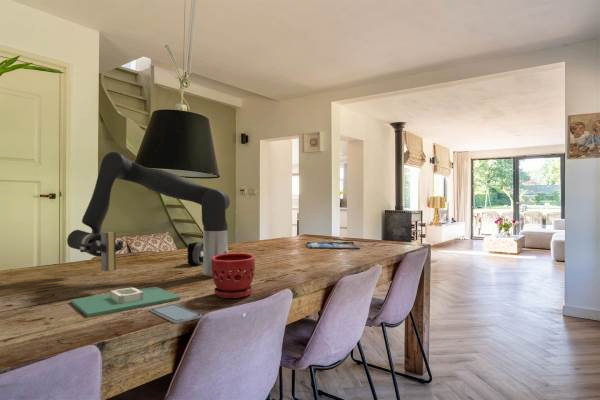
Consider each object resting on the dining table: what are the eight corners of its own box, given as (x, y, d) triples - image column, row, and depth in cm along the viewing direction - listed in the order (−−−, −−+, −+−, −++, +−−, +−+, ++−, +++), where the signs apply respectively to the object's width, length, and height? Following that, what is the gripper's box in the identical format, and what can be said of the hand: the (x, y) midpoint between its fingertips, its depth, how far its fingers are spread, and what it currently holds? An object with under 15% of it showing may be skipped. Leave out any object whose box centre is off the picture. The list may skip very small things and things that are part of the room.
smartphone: (174, 303, 102) (203, 315, 92) (174, 306, 102) (203, 318, 92) (148, 309, 97) (175, 321, 86) (148, 312, 97) (175, 325, 86)
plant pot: (207, 292, 116) (207, 254, 116) (248, 288, 122) (248, 252, 122) (215, 302, 104) (215, 260, 104) (260, 298, 110) (260, 257, 110)
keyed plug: (111, 268, 121) (111, 231, 121) (116, 270, 117) (116, 232, 117) (101, 269, 119) (101, 232, 119) (106, 271, 115) (105, 233, 115)
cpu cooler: (198, 266, 162) (198, 243, 162) (186, 266, 163) (186, 243, 163) (208, 262, 172) (208, 241, 172) (197, 262, 173) (197, 240, 174)
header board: (155, 288, 121) (155, 280, 121) (180, 299, 107) (180, 290, 107) (70, 302, 104) (70, 292, 104) (87, 317, 91) (87, 305, 91)
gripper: (72, 235, 124) (86, 238, 111) (117, 232, 133) (134, 235, 121) (72, 257, 124) (86, 263, 111) (117, 253, 133) (134, 257, 121)
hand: (111, 248), depth 116 cm, fingers closed on keyed plug, 3 cm apart
